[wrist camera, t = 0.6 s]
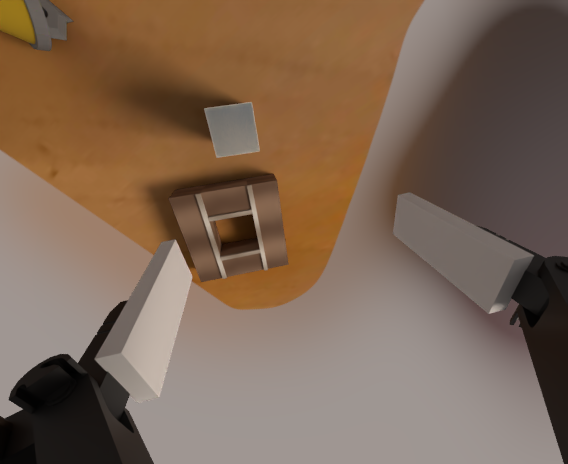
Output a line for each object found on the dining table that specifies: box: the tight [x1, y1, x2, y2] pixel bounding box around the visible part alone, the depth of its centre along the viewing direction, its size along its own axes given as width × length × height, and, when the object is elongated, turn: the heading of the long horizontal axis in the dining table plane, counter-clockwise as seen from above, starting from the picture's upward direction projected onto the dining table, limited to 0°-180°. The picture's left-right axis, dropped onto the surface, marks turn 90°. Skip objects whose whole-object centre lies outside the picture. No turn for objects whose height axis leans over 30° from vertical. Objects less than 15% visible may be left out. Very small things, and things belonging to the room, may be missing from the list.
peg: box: [204, 102, 260, 158], centre depth 25 cm, size 4×4×10 cm
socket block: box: [168, 174, 288, 282], centre depth 34 cm, size 14×14×4 cm
